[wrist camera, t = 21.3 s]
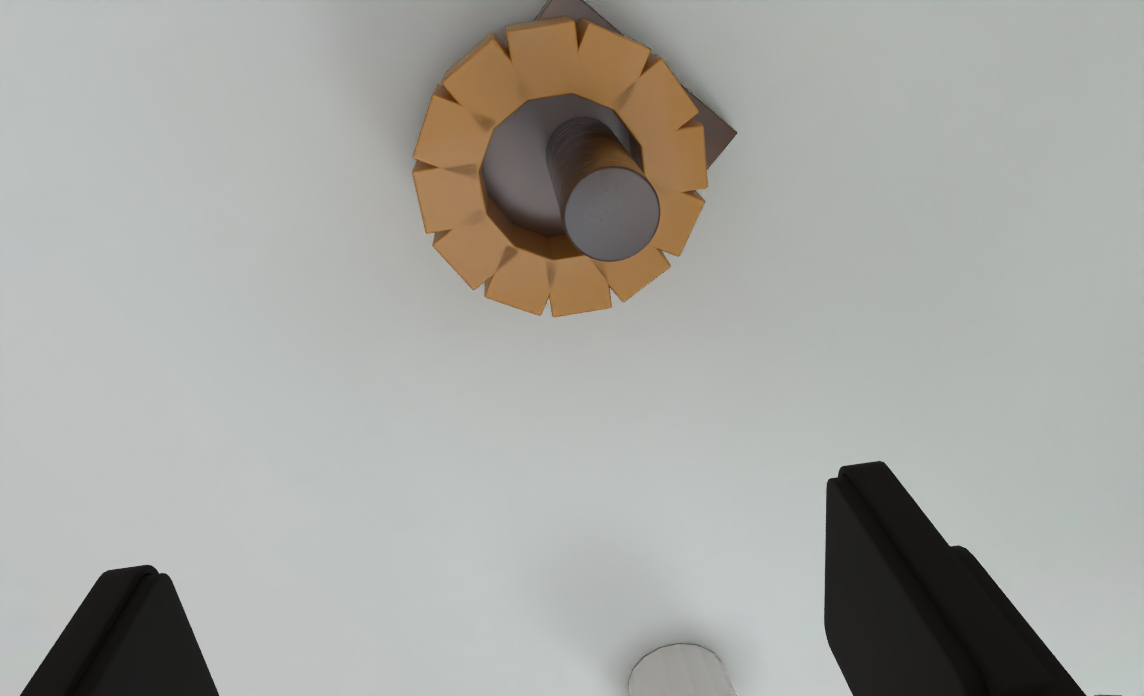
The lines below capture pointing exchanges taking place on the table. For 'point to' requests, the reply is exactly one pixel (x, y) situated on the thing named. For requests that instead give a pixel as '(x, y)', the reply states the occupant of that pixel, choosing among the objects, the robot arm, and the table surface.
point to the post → (580, 166)
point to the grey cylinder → (680, 673)
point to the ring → (499, 88)
